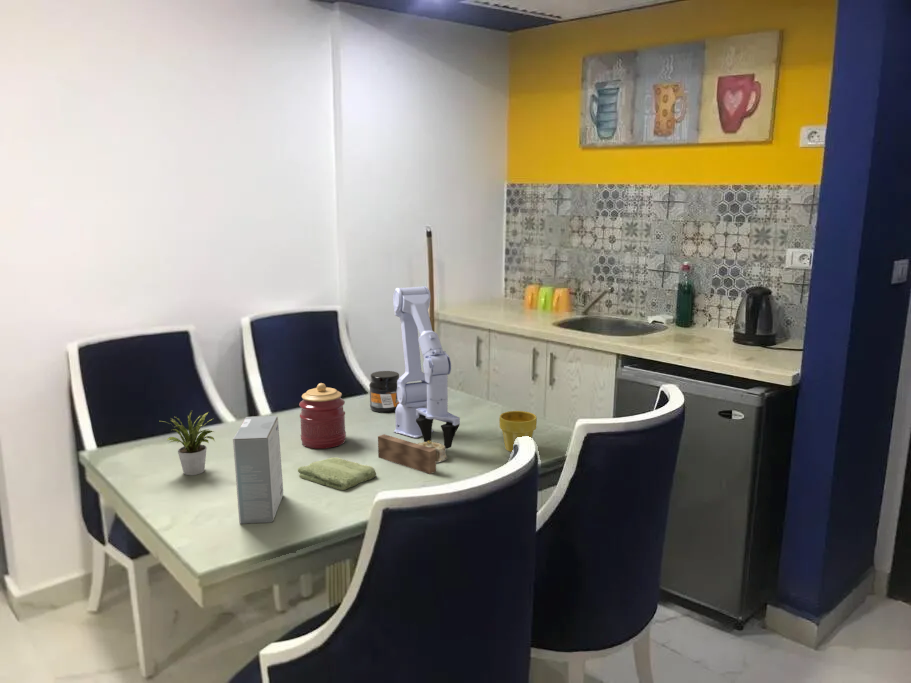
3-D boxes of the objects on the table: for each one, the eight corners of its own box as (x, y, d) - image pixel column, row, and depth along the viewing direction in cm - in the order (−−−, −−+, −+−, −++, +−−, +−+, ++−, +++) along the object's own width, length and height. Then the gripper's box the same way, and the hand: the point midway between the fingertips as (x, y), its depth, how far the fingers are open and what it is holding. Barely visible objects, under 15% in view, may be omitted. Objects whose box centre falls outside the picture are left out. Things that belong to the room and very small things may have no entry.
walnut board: (378, 457, 201) (377, 436, 200) (384, 454, 202) (384, 434, 201) (429, 474, 189) (429, 451, 187) (436, 471, 190) (435, 449, 189)
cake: (409, 454, 205) (409, 436, 204) (445, 453, 206) (445, 434, 205) (412, 464, 195) (412, 445, 194) (449, 463, 196) (449, 443, 196)
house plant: (163, 487, 181) (157, 424, 177) (157, 469, 193) (151, 409, 190) (222, 477, 187) (218, 415, 184) (213, 459, 199) (208, 402, 196)
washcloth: (332, 463, 198) (331, 451, 197) (379, 478, 187) (379, 466, 187) (294, 477, 188) (293, 465, 187) (341, 494, 177) (341, 482, 177)
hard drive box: (251, 495, 176) (246, 416, 172) (283, 494, 176) (279, 415, 172) (238, 524, 160) (232, 437, 156) (273, 523, 161) (268, 436, 157)
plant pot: (534, 456, 201) (534, 422, 199) (496, 454, 203) (497, 420, 201) (537, 444, 211) (538, 411, 209) (502, 442, 213) (502, 409, 211)
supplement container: (388, 415, 239) (387, 379, 236) (363, 410, 244) (362, 375, 242) (407, 407, 247) (407, 372, 245) (383, 402, 253) (382, 368, 251)
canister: (315, 452, 204) (313, 391, 201) (292, 441, 214) (289, 382, 210) (354, 442, 213) (353, 383, 209) (331, 431, 222) (328, 375, 219)
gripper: (408, 396, 203) (408, 442, 206) (447, 405, 194) (448, 454, 197) (425, 391, 209) (425, 436, 211) (464, 400, 200) (464, 447, 202)
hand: (437, 444), depth 205 cm, fingers open, 7 cm apart
